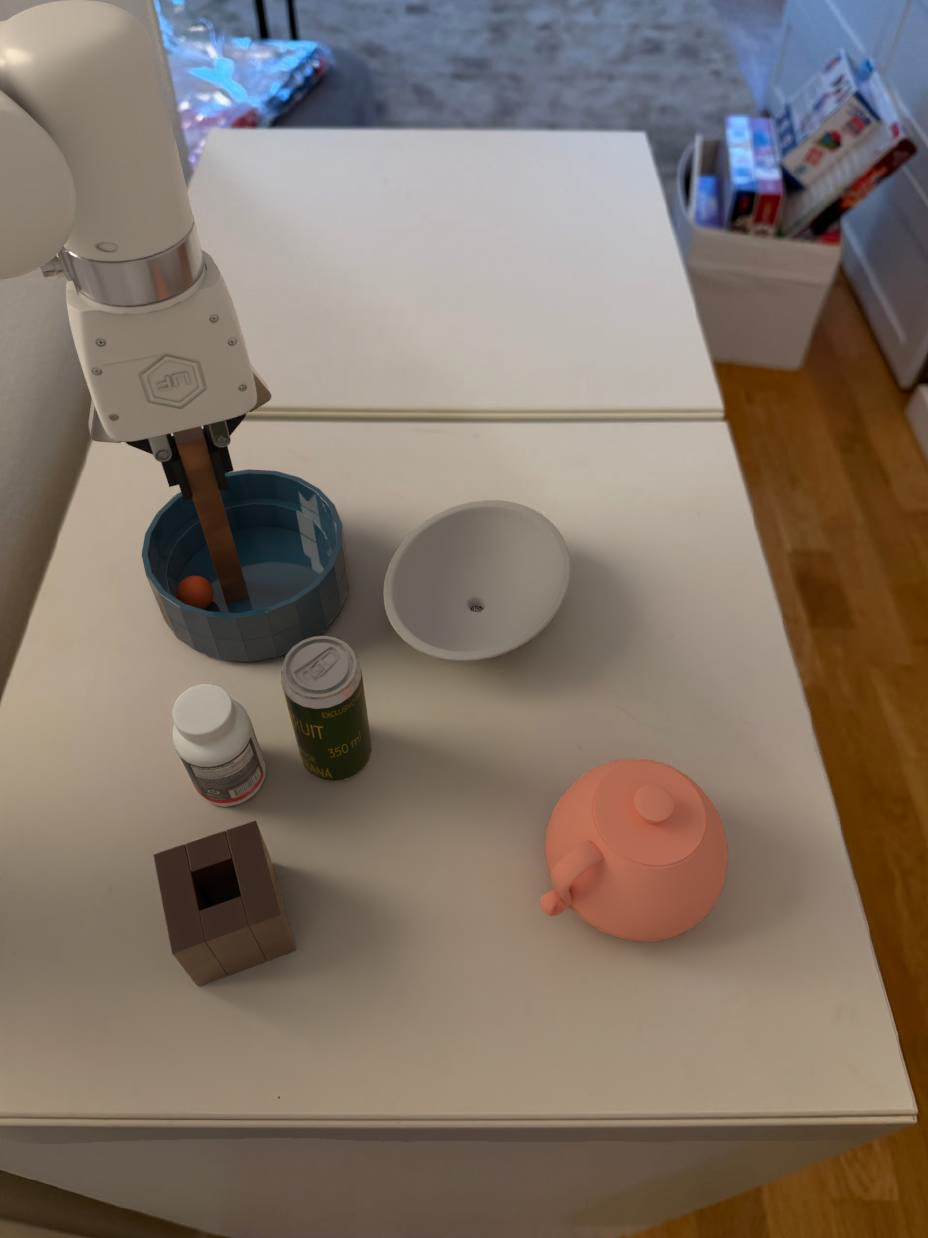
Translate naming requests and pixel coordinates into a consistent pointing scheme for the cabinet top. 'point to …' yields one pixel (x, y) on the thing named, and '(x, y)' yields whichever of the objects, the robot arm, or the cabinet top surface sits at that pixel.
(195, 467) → the brown wooden stick
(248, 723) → the pill bottle
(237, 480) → the bowl
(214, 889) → the stick stand
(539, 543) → the dish
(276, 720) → the cabinet top surface
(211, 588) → the ball
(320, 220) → the cabinet top surface
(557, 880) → the pink teapot
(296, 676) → the green drink can
